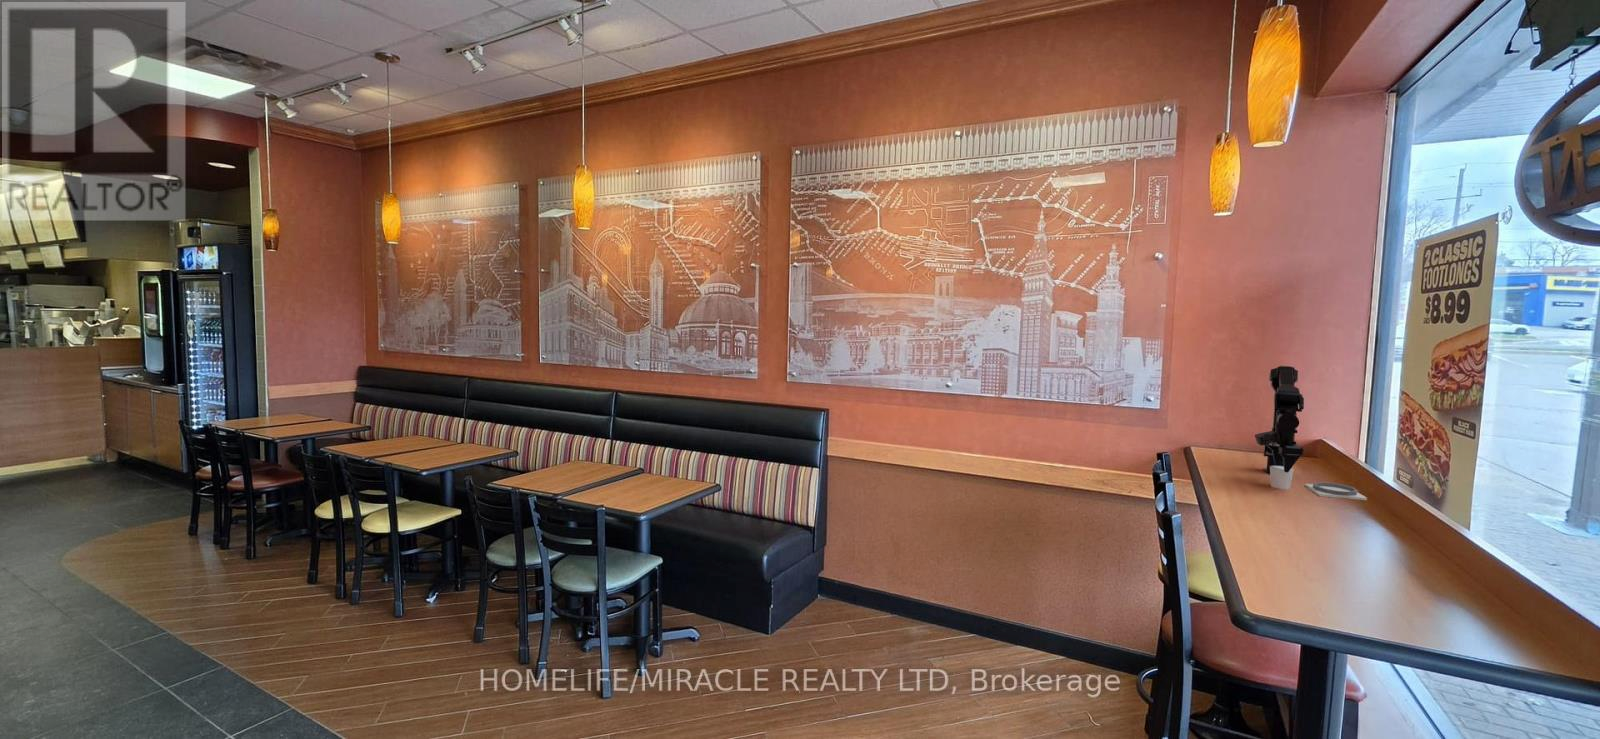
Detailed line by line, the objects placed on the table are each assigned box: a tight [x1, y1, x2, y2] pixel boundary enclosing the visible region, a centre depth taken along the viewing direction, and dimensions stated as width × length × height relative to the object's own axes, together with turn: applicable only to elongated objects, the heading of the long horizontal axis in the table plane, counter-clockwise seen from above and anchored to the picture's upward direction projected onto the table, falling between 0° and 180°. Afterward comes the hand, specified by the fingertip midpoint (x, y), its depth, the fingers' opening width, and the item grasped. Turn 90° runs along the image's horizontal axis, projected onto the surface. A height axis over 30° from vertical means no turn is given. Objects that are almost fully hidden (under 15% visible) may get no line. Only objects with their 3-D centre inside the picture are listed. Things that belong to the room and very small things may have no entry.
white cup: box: [1269, 466, 1295, 490], centre depth 233 cm, size 7×7×7 cm
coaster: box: [1304, 481, 1368, 501], centre depth 226 cm, size 13×13×2 cm
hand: (1281, 468), depth 232 cm, fingers open, 9 cm apart
